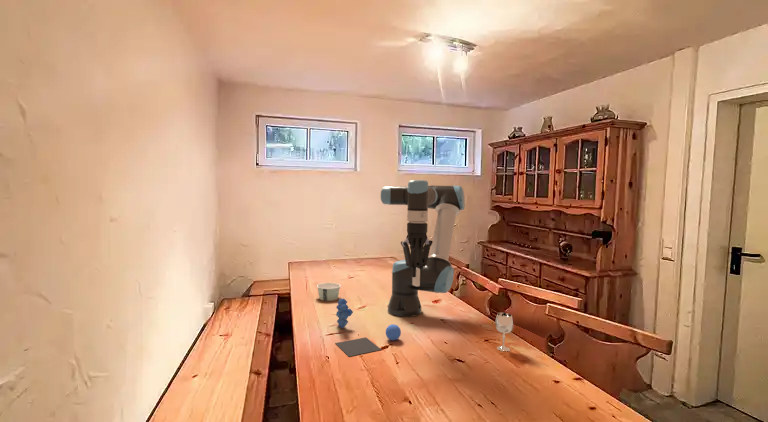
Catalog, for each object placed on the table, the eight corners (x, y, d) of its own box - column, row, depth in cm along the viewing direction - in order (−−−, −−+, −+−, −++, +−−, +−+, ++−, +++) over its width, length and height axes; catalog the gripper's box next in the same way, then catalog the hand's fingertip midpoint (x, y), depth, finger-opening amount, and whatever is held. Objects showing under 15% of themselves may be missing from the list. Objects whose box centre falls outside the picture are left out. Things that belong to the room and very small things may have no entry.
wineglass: (512, 347, 131) (513, 313, 131) (512, 353, 126) (513, 318, 125) (495, 344, 133) (496, 311, 132) (494, 351, 128) (495, 316, 127)
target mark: (365, 337, 137) (365, 337, 137) (381, 350, 127) (381, 349, 127) (335, 343, 132) (335, 343, 132) (348, 356, 121) (348, 356, 121)
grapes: (356, 332, 143) (356, 301, 142) (338, 333, 141) (339, 302, 140) (349, 322, 154) (350, 293, 153) (333, 323, 152) (333, 294, 151)
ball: (395, 335, 140) (396, 321, 139) (403, 341, 135) (403, 326, 135) (382, 338, 137) (383, 323, 137) (390, 343, 132) (390, 328, 132)
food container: (339, 302, 182) (339, 288, 182) (314, 301, 182) (314, 288, 182) (342, 295, 194) (342, 282, 194) (318, 294, 194) (319, 282, 194)
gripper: (407, 223, 132) (406, 289, 133) (437, 222, 138) (436, 285, 139) (396, 221, 139) (395, 285, 140) (425, 221, 145) (424, 281, 146)
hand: (416, 285), depth 140 cm, fingers closed
